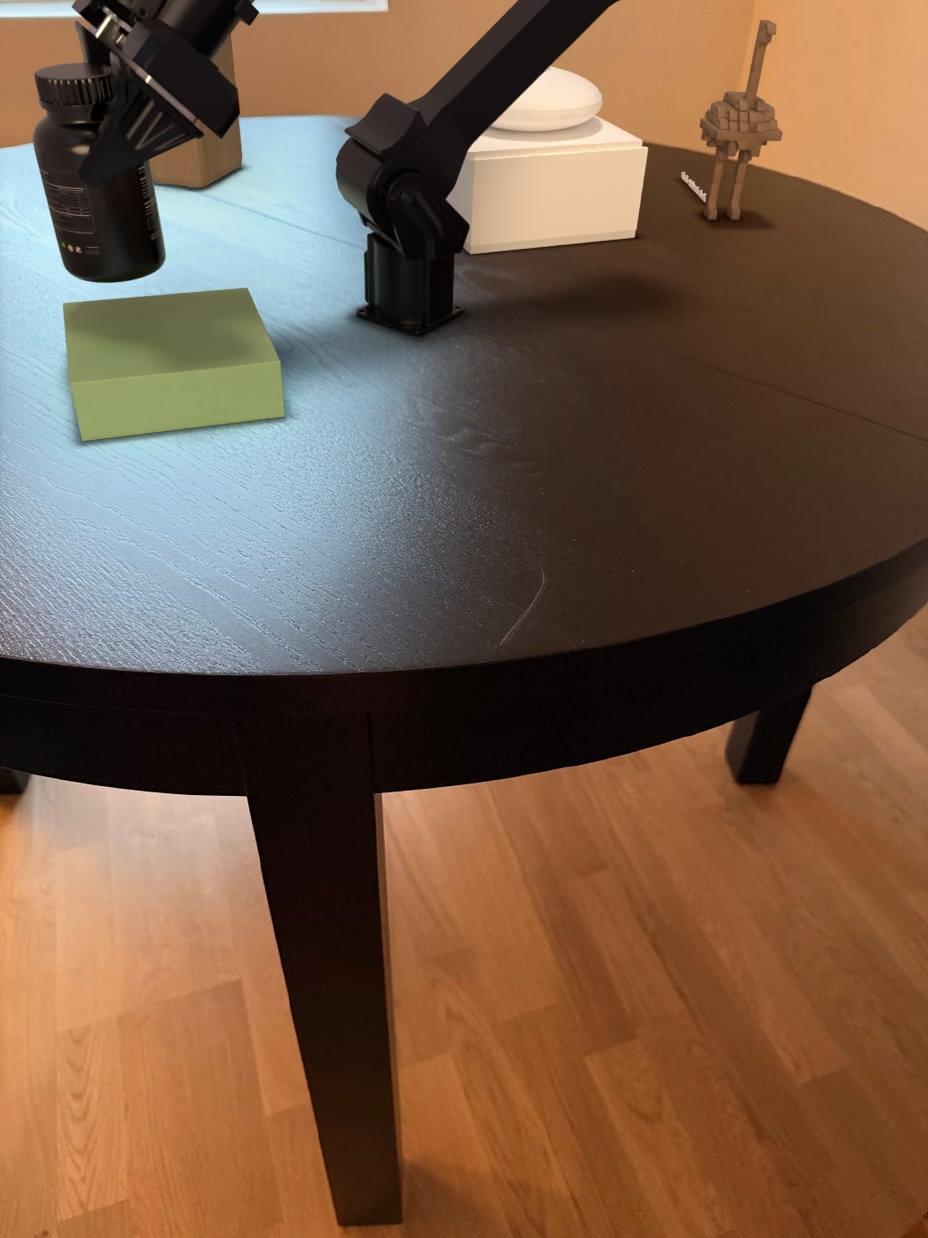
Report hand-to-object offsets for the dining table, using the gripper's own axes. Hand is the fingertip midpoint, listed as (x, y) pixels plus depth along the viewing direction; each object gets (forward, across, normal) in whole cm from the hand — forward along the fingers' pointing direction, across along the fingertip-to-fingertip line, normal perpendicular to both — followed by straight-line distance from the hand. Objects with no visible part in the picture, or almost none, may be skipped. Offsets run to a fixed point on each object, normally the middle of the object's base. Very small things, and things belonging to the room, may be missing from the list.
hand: (73, 166), depth 63 cm
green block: (+7, +5, +12) cm, 15 cm away
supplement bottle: (+4, 0, +6) cm, 7 cm away
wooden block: (-2, -44, +22) cm, 49 cm away
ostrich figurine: (-36, -16, +57) cm, 69 cm away
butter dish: (-21, -19, +41) cm, 50 cm away
